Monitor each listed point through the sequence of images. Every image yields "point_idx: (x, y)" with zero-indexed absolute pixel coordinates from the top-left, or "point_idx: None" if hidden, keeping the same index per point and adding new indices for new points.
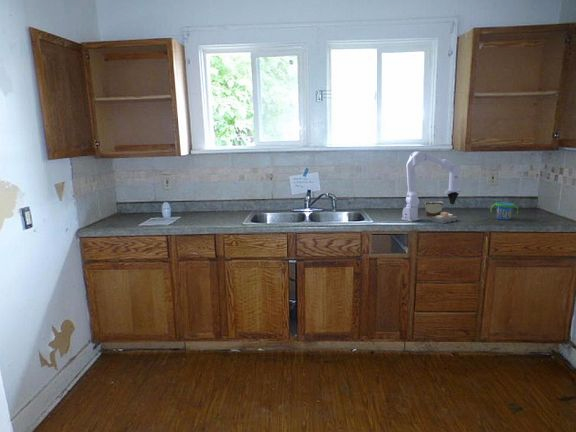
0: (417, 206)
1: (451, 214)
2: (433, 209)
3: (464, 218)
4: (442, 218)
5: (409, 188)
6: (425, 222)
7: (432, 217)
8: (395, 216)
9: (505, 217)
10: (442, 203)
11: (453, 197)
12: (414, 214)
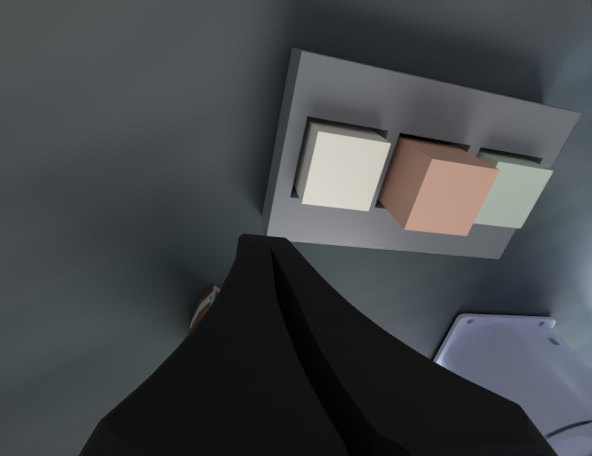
0: (581, 425)
1: (337, 141)
2: None
3: (64, 30)
4: (518, 149)
5: None
6: (546, 237)
7: (503, 244)
8: None
9: None
10: None
11: (403, 348)
12: (547, 358)
